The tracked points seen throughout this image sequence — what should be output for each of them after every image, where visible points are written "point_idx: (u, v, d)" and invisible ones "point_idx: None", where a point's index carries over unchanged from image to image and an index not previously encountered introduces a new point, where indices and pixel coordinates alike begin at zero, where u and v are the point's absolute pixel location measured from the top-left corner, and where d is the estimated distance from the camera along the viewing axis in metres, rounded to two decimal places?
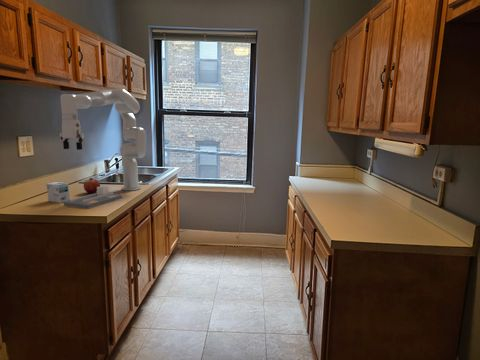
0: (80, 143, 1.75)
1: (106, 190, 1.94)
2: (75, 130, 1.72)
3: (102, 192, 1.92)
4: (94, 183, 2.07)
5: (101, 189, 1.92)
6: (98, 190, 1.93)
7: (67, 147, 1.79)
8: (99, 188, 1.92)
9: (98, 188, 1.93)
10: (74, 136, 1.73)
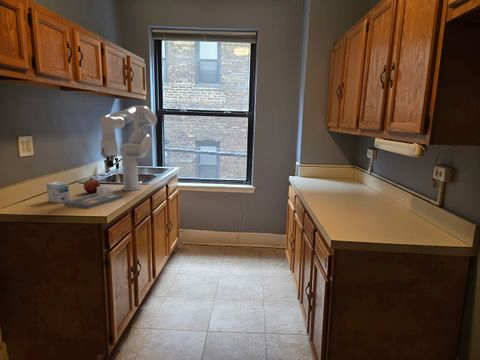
0: None
1: (106, 190, 1.94)
2: None
3: (102, 192, 1.92)
4: (94, 183, 2.07)
5: (101, 189, 1.92)
6: (98, 190, 1.93)
7: None
8: (99, 188, 1.92)
9: (98, 188, 1.93)
10: (117, 152, 2.01)
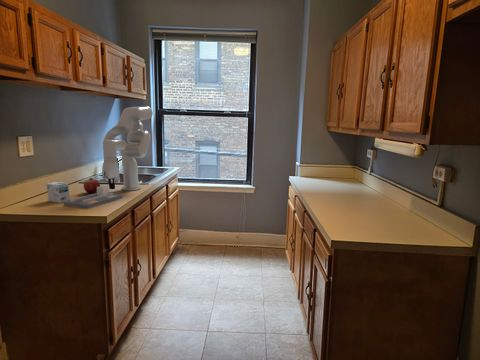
0: None
1: (106, 190, 1.94)
2: None
3: (102, 192, 1.92)
4: (93, 183, 2.07)
5: (101, 189, 1.92)
6: (98, 190, 1.93)
7: None
8: (99, 188, 1.92)
9: (98, 188, 1.93)
10: (118, 174, 2.03)
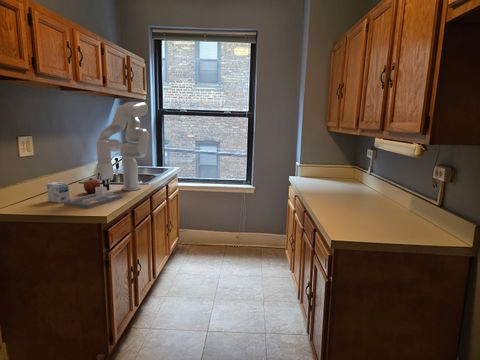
0: None
1: (105, 190, 1.93)
2: None
3: (101, 192, 1.91)
4: (93, 183, 2.07)
5: (100, 189, 1.91)
6: (96, 190, 1.92)
7: None
8: (97, 188, 1.91)
9: (96, 188, 1.92)
10: (113, 176, 1.99)
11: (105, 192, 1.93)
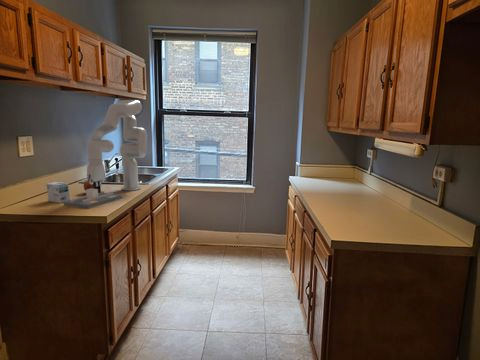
0: None
1: (96, 193, 1.87)
2: None
3: (91, 195, 1.85)
4: None
5: (90, 192, 1.85)
6: (87, 193, 1.86)
7: None
8: (88, 191, 1.85)
9: (87, 191, 1.85)
10: (104, 177, 1.93)
11: (96, 194, 1.87)
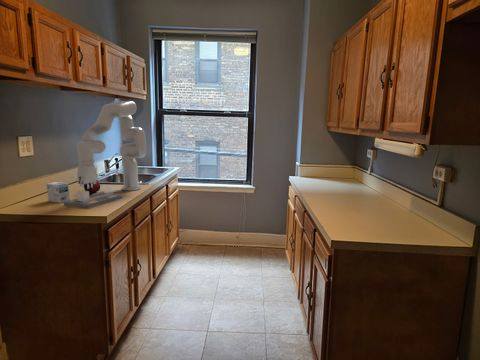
0: None
1: (87, 195, 1.81)
2: None
3: (82, 197, 1.79)
4: None
5: (81, 194, 1.79)
6: (78, 195, 1.80)
7: None
8: (79, 193, 1.79)
9: (78, 193, 1.79)
10: (96, 179, 1.87)
11: (87, 197, 1.81)
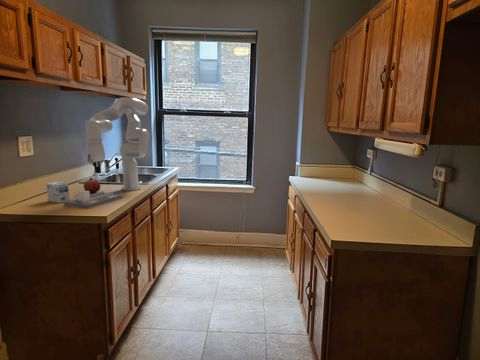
0: None
1: (87, 195, 1.81)
2: None
3: (83, 197, 1.79)
4: (93, 183, 2.07)
5: (82, 194, 1.79)
6: (79, 195, 1.80)
7: None
8: (80, 193, 1.80)
9: (79, 193, 1.80)
10: (104, 158, 1.92)
11: (88, 197, 1.82)
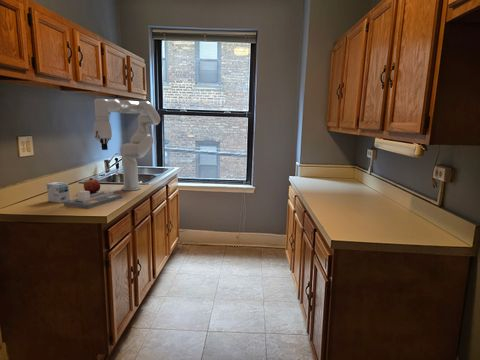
0: None
1: (87, 195, 1.81)
2: None
3: (83, 197, 1.79)
4: (94, 183, 2.07)
5: (82, 194, 1.79)
6: (79, 195, 1.80)
7: None
8: (80, 193, 1.80)
9: (79, 193, 1.80)
10: (111, 135, 2.00)
11: (88, 197, 1.82)
